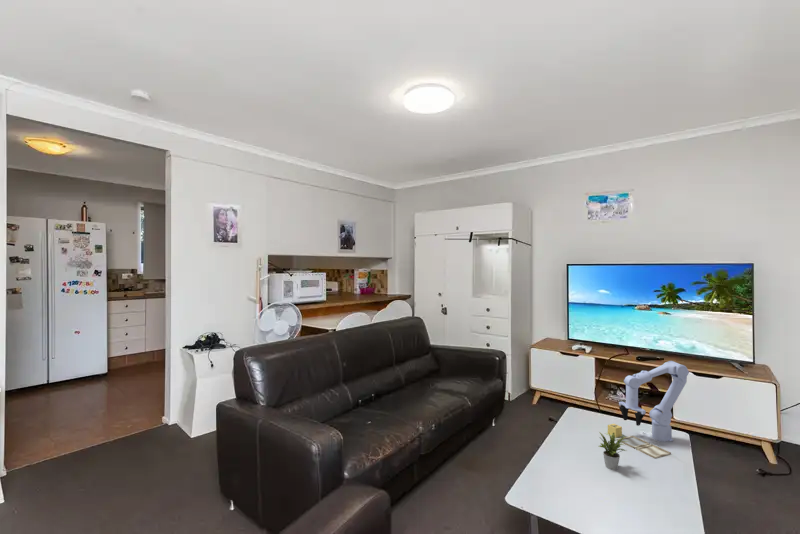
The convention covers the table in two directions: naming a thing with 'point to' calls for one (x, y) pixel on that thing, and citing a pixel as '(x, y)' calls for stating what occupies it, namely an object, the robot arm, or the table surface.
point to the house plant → (611, 451)
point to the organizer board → (644, 446)
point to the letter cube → (615, 430)
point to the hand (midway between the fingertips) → (631, 422)
